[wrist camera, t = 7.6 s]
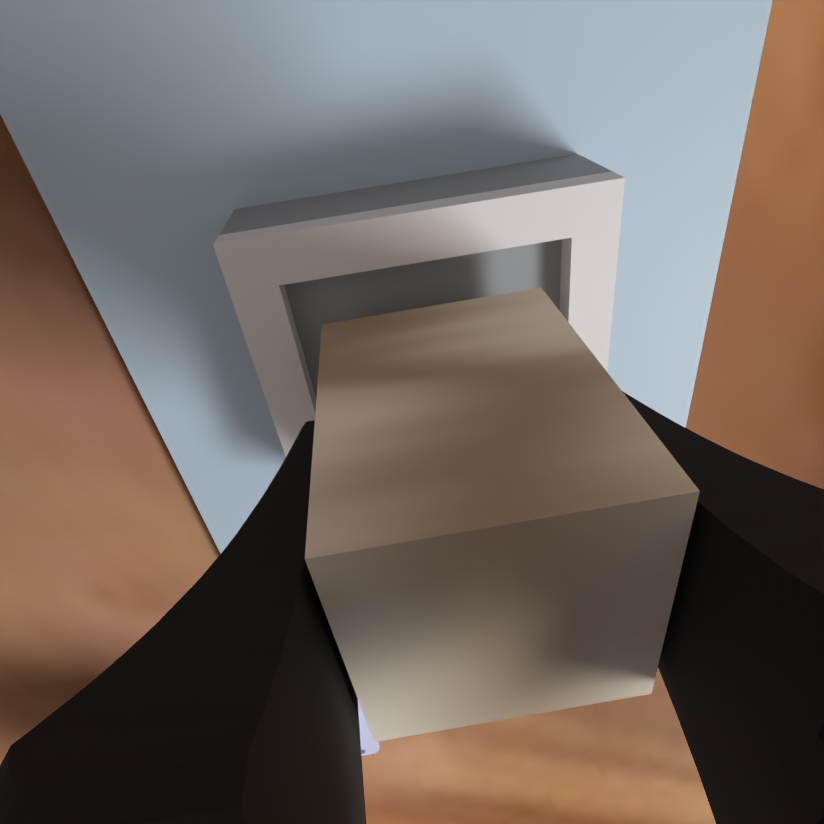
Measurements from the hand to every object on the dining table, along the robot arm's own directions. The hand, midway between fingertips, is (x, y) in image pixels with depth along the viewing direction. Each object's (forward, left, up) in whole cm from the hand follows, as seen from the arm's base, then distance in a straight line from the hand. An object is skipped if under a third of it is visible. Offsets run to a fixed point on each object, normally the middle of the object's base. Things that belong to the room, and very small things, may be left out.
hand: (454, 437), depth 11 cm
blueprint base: (0, 0, -5) cm, 5 cm away
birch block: (0, 0, -2) cm, 2 cm away
